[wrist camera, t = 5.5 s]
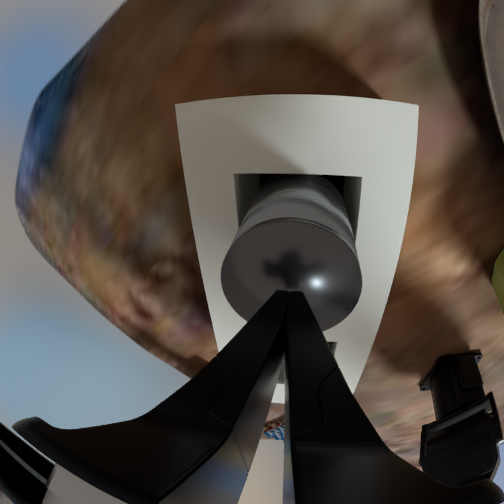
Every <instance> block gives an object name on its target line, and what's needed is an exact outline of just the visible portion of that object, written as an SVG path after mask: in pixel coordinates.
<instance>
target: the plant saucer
mask: <svg viewBox="0 0 504 504" xmlns="http://www.w3.org/2000/svg"><path fill="white" fill-rule="evenodd" d="M478 28H479V42H480V51H481V58H482V65H483V70H484V75H485V80H486V85H487V89H488V93H489V97H490V101H491V105H492V109H493V112H494V116H495V119H496V123H497V126H498V129H499V132H500V135H501V138H502V141H503V144H504V0H479V6H478Z"/></svg>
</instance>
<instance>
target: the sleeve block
mask: <svg viewBox="0 0 504 504" xmlns="http://www.w3.org/2000/svg"><path fill="white" fill-rule="evenodd" d="M418 106H419V105H413V104H408V103H402V102H396V101H389V100H382V99H373V98H364V97H352V96H338V95H316V94H275V95H252V96H238V97H226V98H216V99H208V100H200V101H193V102H187V103H180V104H175V110H176V118H177V127H178V135H179V142H180V150H181V157H182V164H183V171H184V177H185V184H186V190H187V196H188V202H189V208H190V214H191V220H192V226H193V231H194V237H195V242H196V248H197V253H198V258H199V263H200V268H201V273H202V278H203V283H204V288H205V293H206V297H207V302H208V306H209V311H210V315H211V320H212V324H213V329H214V333H215V337H216V341H217V346H218V350H219V352H220V351H221V350H222V349H223V348H224V347H225V345H226V344H227V343H228V342H229V341H230V340H231V339H232V338H233V337H234V336H235V335H236V334H237V333H238V332H239V331H240V330H241V328H242V327H243V326H244V325H245V324H246V323H247V321H246V320H244V319H243V318H242V317H241V316H239V315H238V314H237V313H236V312H235V311H234V309H233V308H232V307H231V306H230V304H229V303H228V301H227V299H226V297H225V295H224V293H223V290H222V285H221V277H220V276H221V267H222V263H223V260H224V258H225V256H226V254H227V252H228V250H229V248H230V246H231V244H232V242H233V240H234V237H235V235H236V233H237V231H238V229H239V227H240V225H241V223H242V221H243V219H244V217H245V215H246V213H247V211H248V209H249V207H250V205H251V203H252V201H253V199H254V197H255V195H256V193H257V192H258V190H259V189H260V178H259V173H283V174H320V175H341V176H344V192H343V200H344V202H345V206H346V209H347V213H348V217H349V221H350V225H351V229H352V233H353V237H354V241H355V246H356V250H357V255H358V259H359V264H360V269H361V273H362V292H361V295H360V298H359V301H358V303H357V305H356V306H355V308H354V309H353V311H352V312H351V313H350V314H349V315H348V316H347V317H346V318H345V319H344V320H343V321H342V322H340V323H339V324H337V325H336V326H334V327H332V328H330V329H328V330H325V331H323V334H324V336H325V338H326V340H327V341H328V344H329V346H330V349H331V351H332V353H333V355H334V357H335V359H336V361H337V363H338V366H339V367H338V368H340V370H341V372H342V374H343V376H344V378H345V380H346V382H347V384H348V386H349V388H350V390H351V392H352V394H353V393H354V391H355V388H356V386H357V384H358V381H359V379H360V376H361V374H362V372H363V369H364V367H365V364H366V361H367V359H368V356H369V354H370V351H371V348H372V345H373V343H374V340H375V337H376V334H377V331H378V328H379V325H380V322H381V319H382V316H383V313H384V310H385V306H386V303H387V300H388V296H389V293H390V289H391V286H392V282H393V278H394V274H395V270H396V266H397V262H398V258H399V254H400V249H401V245H402V240H403V236H404V231H405V225H406V220H407V215H408V209H409V203H410V196H411V190H412V182H413V174H414V166H415V156H416V145H417V130H418ZM271 402H274V403H284V404H285V382H283V381H279V380H278V381H277V384H276V388H275V391H274V395H273V398H272V401H271Z"/></svg>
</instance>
